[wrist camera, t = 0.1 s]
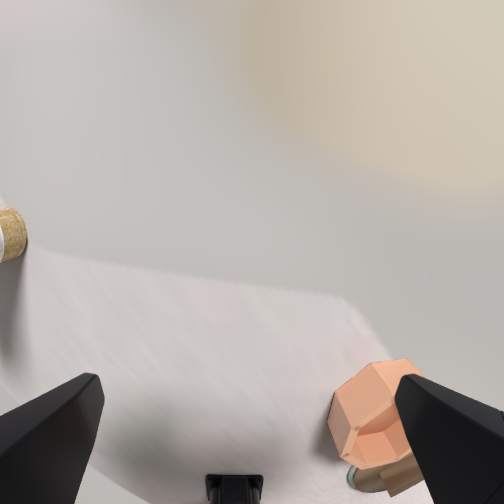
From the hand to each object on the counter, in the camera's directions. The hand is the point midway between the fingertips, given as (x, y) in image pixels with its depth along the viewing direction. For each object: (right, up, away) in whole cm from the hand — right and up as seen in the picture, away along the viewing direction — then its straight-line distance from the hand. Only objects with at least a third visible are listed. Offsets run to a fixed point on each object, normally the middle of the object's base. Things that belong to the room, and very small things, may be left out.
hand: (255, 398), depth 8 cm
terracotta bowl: (+12, -11, +18) cm, 25 cm away
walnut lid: (+19, -23, +21) cm, 36 cm away
